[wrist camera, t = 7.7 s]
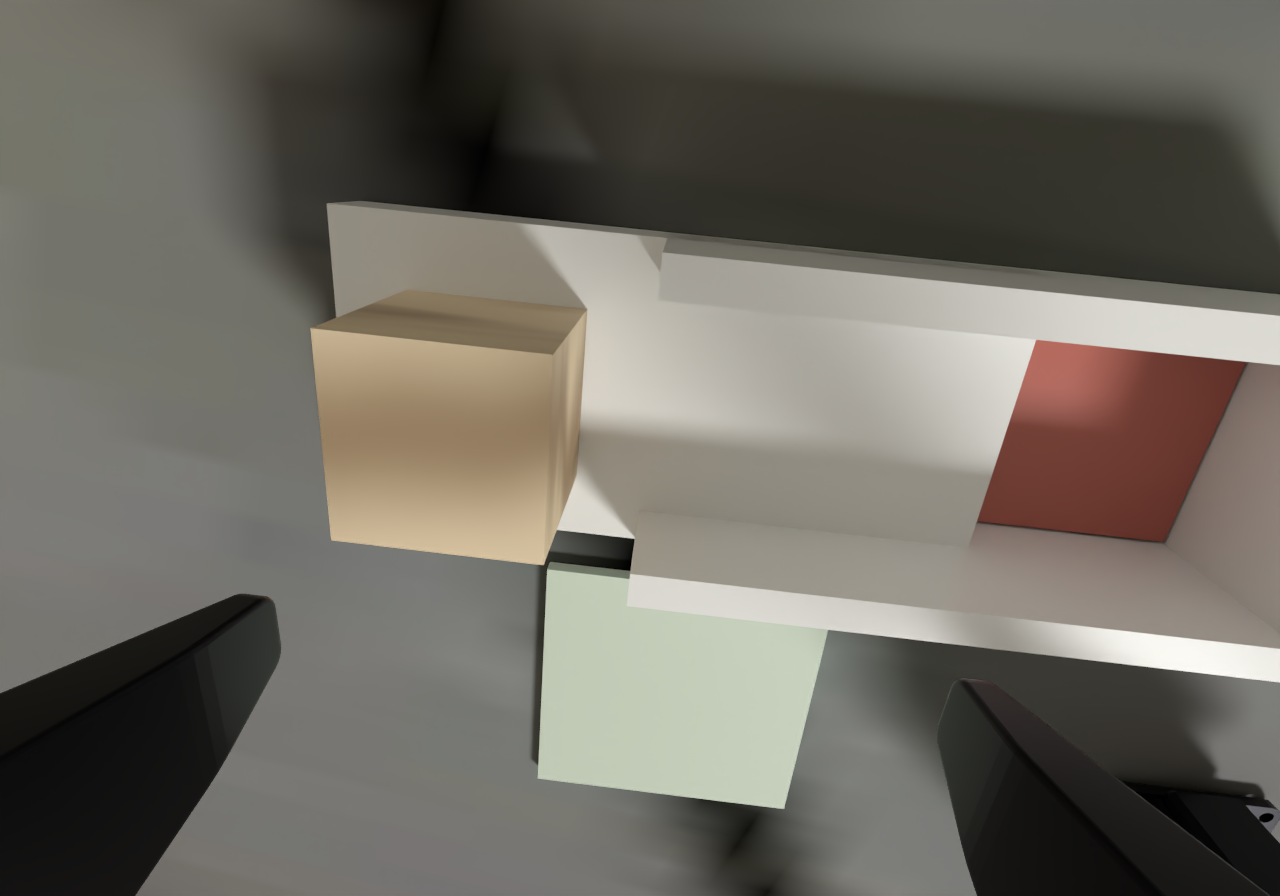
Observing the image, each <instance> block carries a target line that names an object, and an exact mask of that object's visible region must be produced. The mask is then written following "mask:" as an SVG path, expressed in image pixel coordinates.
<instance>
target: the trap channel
mask: <svg viewBox="0 0 1280 896" xmlns="http://www.w3.org/2000/svg"><path fill="white" fill-rule="evenodd" d="M327 214H328V226H329V238H330V250H331V262H332V273H333V285H334V297H335V309H336V318H337V317H340V316H342V315H345V314H347V313H350V312H352V311H355V310H357V309H360V308H362V307H364V306H367V305H369V304H372V303H374V302H377V301H379V300H382V299H384V298H387V297H389V296H392V295H394V294H397V293H399V292H402V291H404V290H415V291H424V292H433V293H443V294H452V295H461V296H470V297H480V298H489V299H498V300H507V301H517V302H526V303H535V304H545V305H554V306H563V307H572V308H582V309H587V324H586V340H585V355H584V371H583V387H582V402H581V418H580V434H579V449H578V465H577V476H576V479H575V482H574V484H573V487H572V490H571V492H570V495H569V498H568V501H567V503H566V506H565V509H564V511H563V514H562V517H561V519H560V522H559V525H558V528H557V530H563V531H572V532H581V533H590V534H599V535H607V536H616V537H625V538H634V539H635V542H634V549H633V556H632V563H631V570H630V578H629V588H628V598H627V606H630V607H638V608H647V609H656V610H664V611H673V612H681V613H690V614H698V615H707V616H716V617H724V618H733V619H741V620H750V621H758V622H767V623H776V624H784V625H793V626H801V627H810V628H818V629H827V630H835V631H844V632H853V633H861V634H870V635H878V636H887V637H895V638H904V639H913V640H921V641H930V642H938V643H947V644H955V645H964V646H973V647H981V648H990V649H998V650H1007V651H1015V652H1024V653H1033V654H1041V655H1050V656H1058V657H1067V658H1075V659H1084V660H1092V661H1101V662H1110V663H1118V664H1127V665H1135V666H1144V667H1152V668H1161V669H1170V670H1178V671H1187V672H1195V673H1204V674H1212V675H1221V676H1230V677H1238V678H1247V679H1255V680H1264V681H1272V682H1280V294H1271V293H1261V292H1251V291H1241V290H1232V289H1222V288H1212V287H1202V286H1192V285H1182V284H1173V283H1163V282H1153V281H1143V280H1133V279H1124V278H1114V277H1104V276H1094V275H1084V274H1075V273H1065V272H1055V271H1045V270H1035V269H1026V268H1016V267H1006V266H996V265H986V264H977V263H967V262H957V261H947V260H937V259H927V258H918V257H908V256H898V255H888V254H878V253H869V252H859V251H849V250H839V249H829V248H820V247H810V246H800V245H790V244H780V243H771V242H761V241H751V240H741V239H731V238H722V237H712V236H702V235H692V234H682V233H673V232H663V231H653V230H643V229H633V228H623V227H614V226H604V225H594V224H584V223H574V222H565V221H555V220H545V219H535V218H525V217H516V216H506V215H496V214H486V213H476V212H467V211H457V210H447V209H437V208H427V207H418V206H408V205H398V204H388V203H378V202H369V201H351V202H338V203H327Z"/></svg>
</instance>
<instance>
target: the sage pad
mask: <svg viewBox="0 0 1280 896" xmlns="http://www.w3.org/2000/svg"><path fill="white" fill-rule="evenodd" d="M629 578H630V571H626V570H617V569H608V568H600V567H591V566H582V565H574V564H565V563H556V562H550V563H549V566H548V568H547V584H546V606H545V629H544V651H543V674H542V696H541V719H540V741H539V763H538V779H546V780H554V781H562V782H570V783H578V784H586V785H595V786H603V787H611V788H619V789H627V790H635V791H643V792H651V793H659V794H667V795H675V796H683V797H691V798H700V799H708V800H716V801H724V802H732V803H740V804H748V805H756V806H764V807H772V808H780V809H784V807H785V803H786V799H787V794H788V790H789V786H790V782H791V778H792V774H793V770H794V766H795V762H796V758H797V754H798V750H799V746H800V742H801V738H802V734H803V730H804V726H805V721H806V717H807V713H808V709H809V705H810V701H811V697H812V693H813V689H814V685H815V681H816V677H817V673H818V669H819V665H820V661H821V657H822V653H823V648H824V644H825V640H826V636H827V632H828V630H827V629H818V628H810V627H801V626H793V625H784V624H776V623H767V622H758V621H750V620H741V619H733V618H724V617H716V616H707V615H698V614H690V613H681V612H673V611H664V610H656V609H647V608H638V607H630V606H627V598H628V588H629Z"/></svg>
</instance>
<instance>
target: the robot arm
mask: <svg viewBox="0 0 1280 896" xmlns="http://www.w3.org/2000/svg"><path fill="white" fill-rule="evenodd" d="M280 654H281V641H280V634H279V628H278V621H277V614H276V608H275V604H274V602H273V600H272V599H271V598H269V597H266V596H259V595H251V594H237V595H234V596H232V597H229V598H227V599H224V600H222V601H220V602H217V603H215V604H212V605H210V606H208V607H205V608H203V609H201V610H198V611H196V612H193V613H191V614H189V615H186V616H184V617H181V618H179V619H177V620H174V621H172V622H169V623H167V624H165V625H162V626H160V627H158V628H155V629H153V630H150V631H148V632H146V633H143V634H141V635H138V636H136V637H134V638H131V639H129V640H126V641H124V642H122V643H119V644H117V645H115V646H112V647H110V648H107V649H105V650H103V651H100V652H98V653H95V654H93V655H91V656H88V657H86V658H83V659H81V660H79V661H76V662H74V663H72V664H69V665H67V666H64V667H62V668H60V669H57V670H55V671H52V672H50V673H48V674H45V675H43V676H40V677H38V678H36V679H33V680H31V681H29V682H26V683H24V684H21V685H19V686H17V687H14V688H12V689H9V690H7V691H5V692H2V693H0V896H135V895H136V894H137V892H138V891H139V889H140V888H141V886H142V885H143V883H144V882H145V880H146V879H147V877H148V876H149V874H150V873H151V872H152V870H153V869H154V867H155V866H156V864H157V863H158V861H159V860H160V858H161V857H162V855H163V854H164V852H165V851H166V849H167V848H168V846H169V845H170V843H171V842H172V840H173V839H174V837H175V836H176V835H177V833H178V832H179V830H180V829H181V827H182V826H183V824H184V823H185V821H186V820H187V818H188V817H189V815H190V814H191V812H192V811H193V809H194V808H195V806H196V805H197V803H198V802H199V801H200V799H201V798H202V796H203V795H204V793H205V792H206V790H207V789H208V787H209V786H210V784H211V782H212V781H213V779H214V778H215V776H216V775H217V773H218V772H219V770H220V768H221V766H222V765H223V763H224V761H225V760H226V758H227V756H228V754H229V753H230V751H231V749H232V747H233V745H234V743H235V742H236V740H237V738H238V736H239V734H240V732H241V731H242V729H243V727H244V725H245V723H246V721H247V720H248V718H249V716H250V714H251V712H252V710H253V709H254V707H255V705H256V703H257V701H258V699H259V698H260V696H261V694H262V692H263V690H264V688H265V687H266V685H267V683H268V681H269V679H270V677H271V676H272V674H273V672H274V670H275V668H276V666H277V664H278V661H279V658H280ZM937 743H938V748H939V752H940V756H941V760H942V765H943V769H944V773H945V777H946V781H947V786H948V790H949V794H950V798H951V802H952V807H953V811H954V815H955V819H956V823H957V827H958V832H959V836H960V840H961V844H962V848H963V852H964V855H965V859H966V863H967V866H968V869H969V872H970V876H971V879H972V882H973V885H974V888H975V891H976V894H977V896H1280V843H1279V842H1278V841H1277V840H1276V839H1275V838H1274V837H1273V836H1272V834H1271V832H1272V831H1273V829H1274V827H1275V826H1276V824H1277V823H1278V821H1279V820H1280V812H1279V811H1278V809H1277V808H1276V807H1275V806H1274V805H1273V804H1272V803H1271V802H1270V801H1269V800H1265V799H1259V798H1250V797H1242V796H1234V795H1226V794H1217V793H1209V792H1201V791H1193V790H1184V789H1176V788H1168V787H1160V786H1151V785H1143V784H1135V783H1127V782H1121V781H1120V780H1118V779H1117V778H1116V777H1115V776H1113V775H1112V774H1111V773H1109V772H1108V771H1107V770H1105V769H1104V768H1103V767H1102V766H1100V765H1099V764H1098V763H1096V762H1095V761H1094V760H1092V759H1091V758H1090V757H1088V756H1087V755H1086V754H1085V753H1083V752H1082V751H1081V750H1079V749H1078V748H1077V747H1075V746H1074V745H1073V744H1071V743H1070V742H1069V741H1068V740H1066V739H1065V738H1064V737H1062V736H1061V735H1060V734H1058V733H1057V732H1056V731H1055V730H1053V729H1052V728H1051V727H1049V726H1048V725H1047V724H1045V723H1044V722H1043V721H1041V720H1040V719H1039V718H1038V717H1036V716H1035V715H1034V714H1032V713H1031V712H1030V711H1028V710H1027V709H1026V708H1025V707H1023V706H1022V705H1021V704H1019V703H1018V702H1017V701H1015V700H1014V699H1013V698H1011V697H1010V696H1009V695H1008V694H1006V693H1005V692H1004V691H1002V690H1001V689H1000V688H998V687H997V686H996V685H994V684H993V683H991V682H989V681H984V680H976V679H967V678H960V679H957V680H955V682H954V683H953V684H952V686H951V689H950V692H949V694H948V697H947V700H946V703H945V706H944V709H943V712H942V715H941V717H940V720H939V723H938V728H937Z"/></svg>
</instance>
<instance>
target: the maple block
mask: <svg viewBox="0 0 1280 896" xmlns="http://www.w3.org/2000/svg"><path fill="white" fill-rule="evenodd" d="M586 324H587V309H582V308H572V307H563V306H554V305H545V304H535V303H526V302H517V301H507V300H498V299H489V298H480V297H470V296H461V295H452V294H443V293H433V292H424V291H415V290H404V291H402V292H399V293H397V294H394V295H392V296H389V297H387V298H384V299H382V300H379V301H377V302H374V303H372V304H369V305H367V306H364V307H362V308H360V309H357V310H355V311H352V312H350V313H347V314H345V315H342V316H340V317H337V318H335V319H332V320H330V321H327V322H325V323H322V324H320V325H317V326H315V327H312V328H311V338H312V348H313V359H314V369H315V379H316V389H317V399H318V410H319V420H320V430H321V440H322V450H323V461H324V471H325V481H326V491H327V502H328V512H329V522H330V532H331V540H334V541H342V542H351V543H359V544H368V545H376V546H385V547H393V548H402V549H410V550H419V551H427V552H436V553H444V554H453V555H461V556H470V557H478V558H487V559H495V560H504V561H512V562H520V563H529V564H537V565H544V563H545V560H546V557H547V555H548V552H549V549H550V547H551V544H552V541H553V538H554V536H555V533H556V530H557V528H558V525H559V522H560V519H561V517H562V514H563V511H564V509H565V506H566V503H567V501H568V498H569V495H570V492H571V490H572V487H573V484H574V482H575V479H576V476H577V465H578V449H579V434H580V418H581V402H582V387H583V371H584V355H585V340H586Z"/></svg>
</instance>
